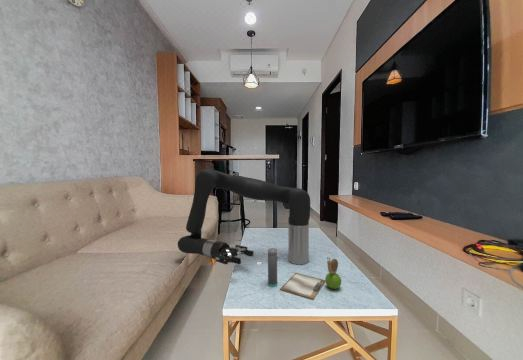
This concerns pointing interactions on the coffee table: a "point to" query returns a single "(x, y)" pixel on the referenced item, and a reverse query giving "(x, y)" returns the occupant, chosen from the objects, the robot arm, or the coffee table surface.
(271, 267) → the cylinder
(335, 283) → the snail figurine
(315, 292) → the clipboard
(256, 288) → the coffee table surface
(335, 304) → the coffee table surface
